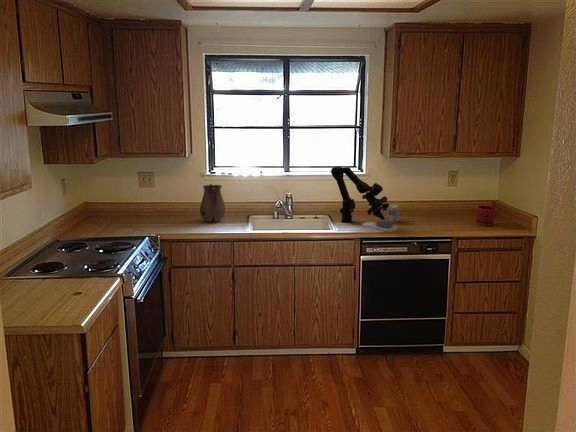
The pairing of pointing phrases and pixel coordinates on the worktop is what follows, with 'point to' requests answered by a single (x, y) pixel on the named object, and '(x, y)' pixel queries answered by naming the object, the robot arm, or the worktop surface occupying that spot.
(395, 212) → the light bulb box
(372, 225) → the marked board
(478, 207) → the plant pot
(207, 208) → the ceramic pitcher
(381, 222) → the sanding block
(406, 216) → the worktop surface
